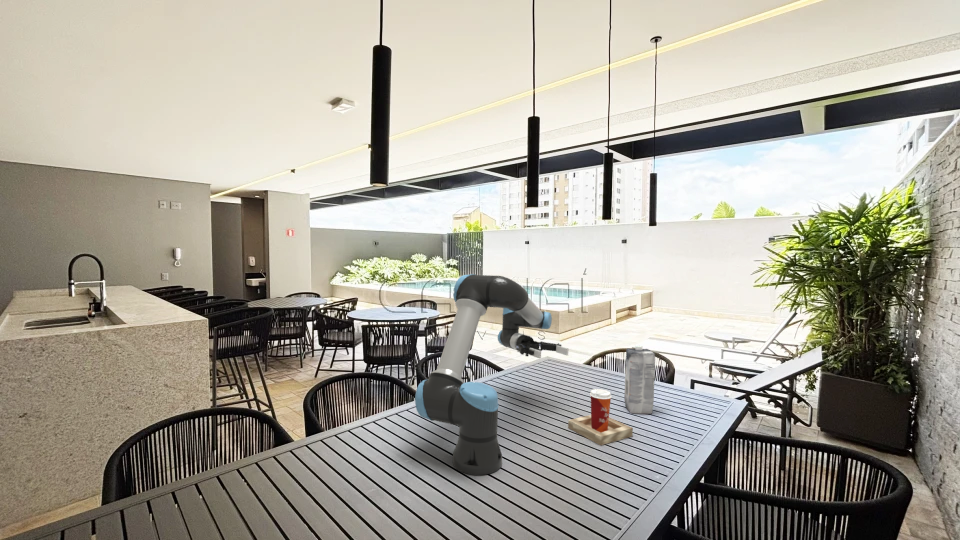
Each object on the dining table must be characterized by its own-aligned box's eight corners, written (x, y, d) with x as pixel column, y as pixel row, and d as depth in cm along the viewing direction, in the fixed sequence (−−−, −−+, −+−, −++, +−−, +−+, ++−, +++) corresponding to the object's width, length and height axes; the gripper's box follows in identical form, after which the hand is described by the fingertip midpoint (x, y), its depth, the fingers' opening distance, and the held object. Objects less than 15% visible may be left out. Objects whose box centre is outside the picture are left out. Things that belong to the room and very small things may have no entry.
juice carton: (655, 415, 168) (657, 349, 167) (629, 414, 168) (631, 349, 167) (646, 407, 177) (649, 345, 176) (622, 406, 177) (624, 344, 176)
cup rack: (600, 445, 139) (600, 436, 139) (568, 427, 153) (568, 420, 153) (632, 436, 147) (632, 428, 147) (599, 420, 161) (599, 412, 161)
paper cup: (606, 436, 145) (607, 396, 144) (585, 430, 149) (586, 392, 149) (613, 429, 151) (614, 391, 151) (593, 423, 156) (594, 387, 155)
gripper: (545, 349, 184) (578, 360, 165) (497, 354, 172) (527, 366, 153) (545, 333, 184) (578, 341, 165) (498, 336, 172) (528, 346, 153)
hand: (554, 353), depth 159 cm, fingers open, 13 cm apart
